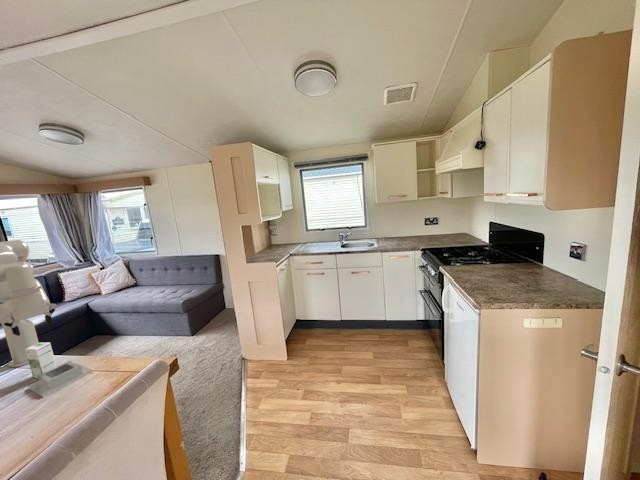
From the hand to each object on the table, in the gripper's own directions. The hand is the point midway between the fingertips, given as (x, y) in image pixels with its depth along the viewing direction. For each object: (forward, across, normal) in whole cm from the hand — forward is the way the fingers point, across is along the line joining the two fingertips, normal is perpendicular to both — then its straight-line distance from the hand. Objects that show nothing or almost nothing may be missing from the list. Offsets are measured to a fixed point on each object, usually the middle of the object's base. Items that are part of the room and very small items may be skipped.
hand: (34, 329), depth 112 cm
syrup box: (+22, 0, -1) cm, 22 cm away
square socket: (+22, -1, +12) cm, 25 cm away
